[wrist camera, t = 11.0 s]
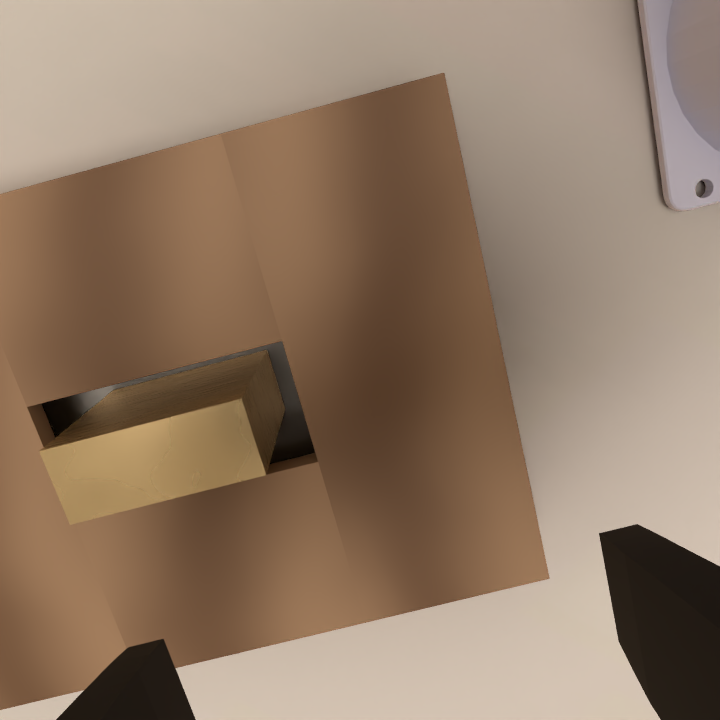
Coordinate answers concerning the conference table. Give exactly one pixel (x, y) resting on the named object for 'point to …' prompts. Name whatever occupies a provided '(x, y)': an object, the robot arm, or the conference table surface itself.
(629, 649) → the robot arm
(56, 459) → the wooden block
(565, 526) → the conference table surface
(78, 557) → the wooden board with recess
